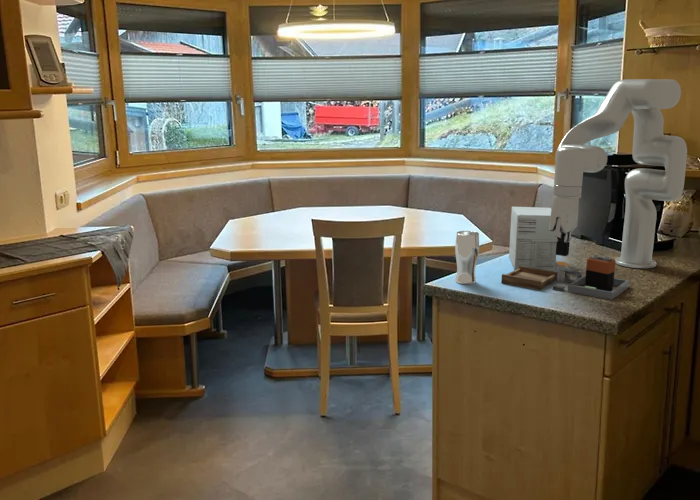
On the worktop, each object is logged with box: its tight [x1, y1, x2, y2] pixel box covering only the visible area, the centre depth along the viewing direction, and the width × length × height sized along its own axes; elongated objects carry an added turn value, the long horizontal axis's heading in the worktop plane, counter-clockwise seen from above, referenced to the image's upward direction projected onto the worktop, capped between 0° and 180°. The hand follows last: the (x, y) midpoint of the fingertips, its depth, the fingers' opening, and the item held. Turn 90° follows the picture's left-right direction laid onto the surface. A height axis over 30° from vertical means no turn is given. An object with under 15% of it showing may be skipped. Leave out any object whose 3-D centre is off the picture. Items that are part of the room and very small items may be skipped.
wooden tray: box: [500, 266, 558, 291], centre depth 202 cm, size 13×12×3 cm
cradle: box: [567, 273, 630, 301], centre depth 194 cm, size 16×12×2 cm
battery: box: [584, 254, 616, 292], centre depth 194 cm, size 4×7×10 cm, turn 42°
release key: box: [556, 260, 578, 276], centre depth 198 cm, size 12×2×2 cm, turn 143°
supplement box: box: [508, 206, 557, 272], centre depth 220 cm, size 17×13×18 cm
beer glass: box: [454, 230, 480, 285], centre depth 200 cm, size 7×7×15 cm
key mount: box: [552, 267, 583, 292], centre depth 199 cm, size 14×5×3 cm, turn 142°
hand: (562, 255), depth 193 cm, fingers closed
